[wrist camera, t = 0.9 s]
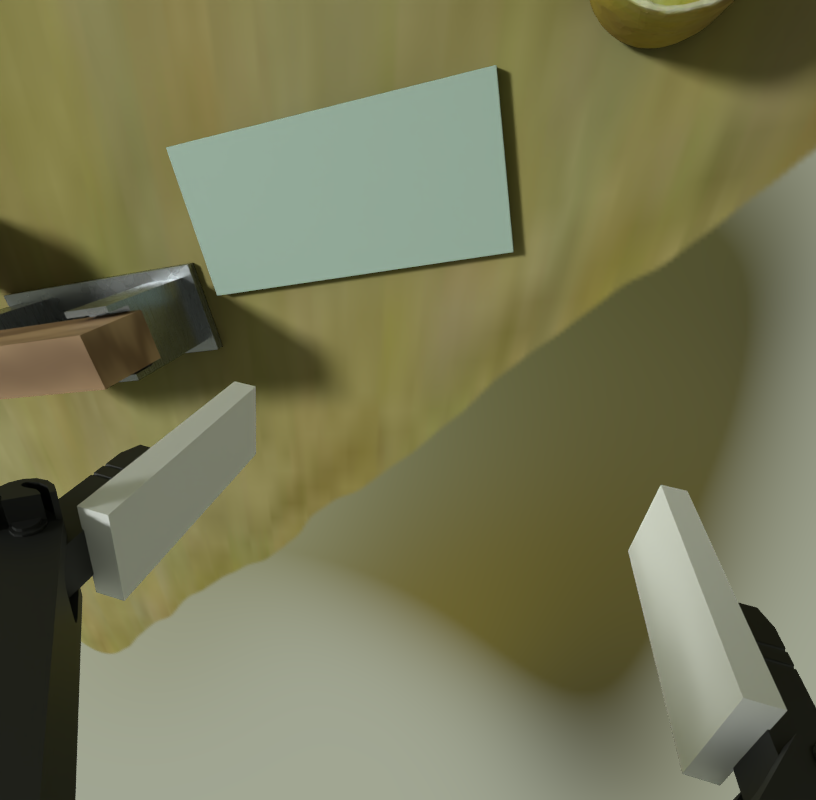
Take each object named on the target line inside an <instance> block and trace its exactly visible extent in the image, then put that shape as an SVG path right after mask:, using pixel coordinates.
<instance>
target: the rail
mask: <svg viewBox="0 0 816 800" xmlns="http://www.w3.org/2000/svg"><path fill="white" fill-rule="evenodd" d="M160 358H161V357H160V354H159V352H158V350H157V347H156V345H155V342H154V340H153V338H152V335H151V333H150V330H149V328H148V325H147V323H146V321H145V318H144V316H143V313H142V311H141V310H136V311H129V312H122V313H116V314H109V315H102V316H95V317H88V318H81V319H74V320H67V321H61V322H54V323H47V324H40V325H33V326H26V327H19V328H12V329H6V330H0V399H9V398H19V397H30V396H41V395H51V394H62V393H73V392H83V391H94V390H104V389H107V388H109V387H111V386H112V385H114V384H116V383H118V382H119V381H121V380H123V379H125V378H126V377H128V376H130V375H132V374H133V373H135V372H137V371H139V370H140V369H142V368H144V367H146V366H147V365H149V364H151V363H153V362H154V361H156V360H158V359H160Z"/></svg>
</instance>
